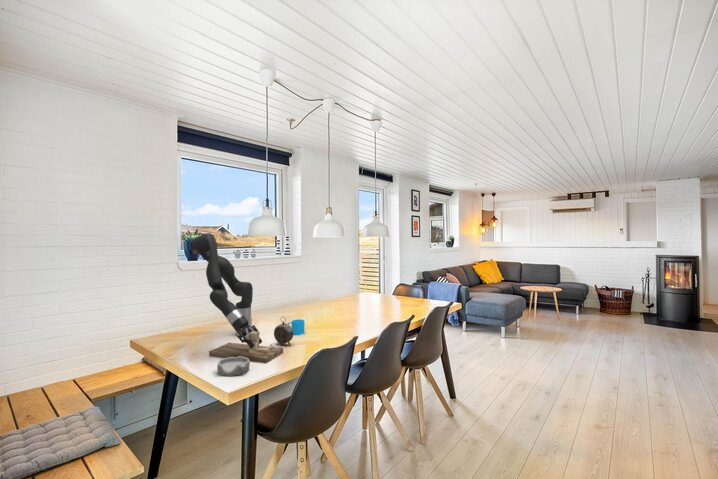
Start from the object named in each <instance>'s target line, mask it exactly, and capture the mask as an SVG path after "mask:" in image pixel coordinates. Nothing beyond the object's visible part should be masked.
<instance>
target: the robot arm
mask: <svg viewBox="0 0 718 479" xmlns="http://www.w3.org/2000/svg"><path fill="white" fill-rule="evenodd" d="M191 244H192V247H193V249H194V250H195V251H196V252H197V254H199V255H200V256H201V257H202V258H203V259H204V260H205V261H206V262H207V266H206V270H205V273H206V274H205V276H206V279H207V284H208V287H210V288H211V290H212V291H210V293H209V299H210V300H209V301H210V302H211V303H212V304H213V306H215V307H216V308H217V309H218V310H219V311H221V313H222V314H223V315H224V317H225V319H226V320H227V322H228V323H229V324H230V325H231V326H232V328H233V329H234V330H235V334H234V335H235V336H236V338H237V339H238V340H239V341H240V342H241V344H248V345H249V347H250V348H253V347H254V344H253V343H252V341H251V340H250V339H249V333H250V332H252V331H253V332H259V335H260V334H261V333H260V331H259V329H258V328H257V327H256V325H255V324H253V319H252V303H253V294H254V293H253V291H254V290H253V289H254V288H253V287H254V286H253V285H252V283H251V282H248V281H240V280H239V279H238V278H237V277H236V275H235V267H234V265H233V264H232V262H230V261H229V259H228V258H226V257H224V256H221V255H219V254H218V253H219V252H218V244H217V240H216V238H215V236H214V235H213V234H212V233H211V232H208V233H204V234H202V235H199V236H196V237H194V238H193V239H192V240H191ZM223 281H224V282H225V283H226V284H227V285H228V287H229V289H230V290H231V292H232V294H234V295H235V296H237V297H241V299H240V301H239V302H236V304H235V303H233V302H232V301H230V300H229V299H228V298H229V295H228V290H227V289H226V287H225V284H224V283H223ZM262 343H263V340H262V338H261V337H260V336H259V345H261V344H262Z"/></svg>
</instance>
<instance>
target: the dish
mask: <svg viewBox="0 0 718 479" xmlns="http://www.w3.org/2000/svg"><path fill="white" fill-rule="evenodd" d="M250 362H251V361H249V359H248V358H246V357H241V356H238V357H228V358H220V360H218V361H217V372H218V374H219V375H221V376H227V377H233V376H240V375H243V374H245V373H247V372H248V371H249V369H250Z"/></svg>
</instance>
